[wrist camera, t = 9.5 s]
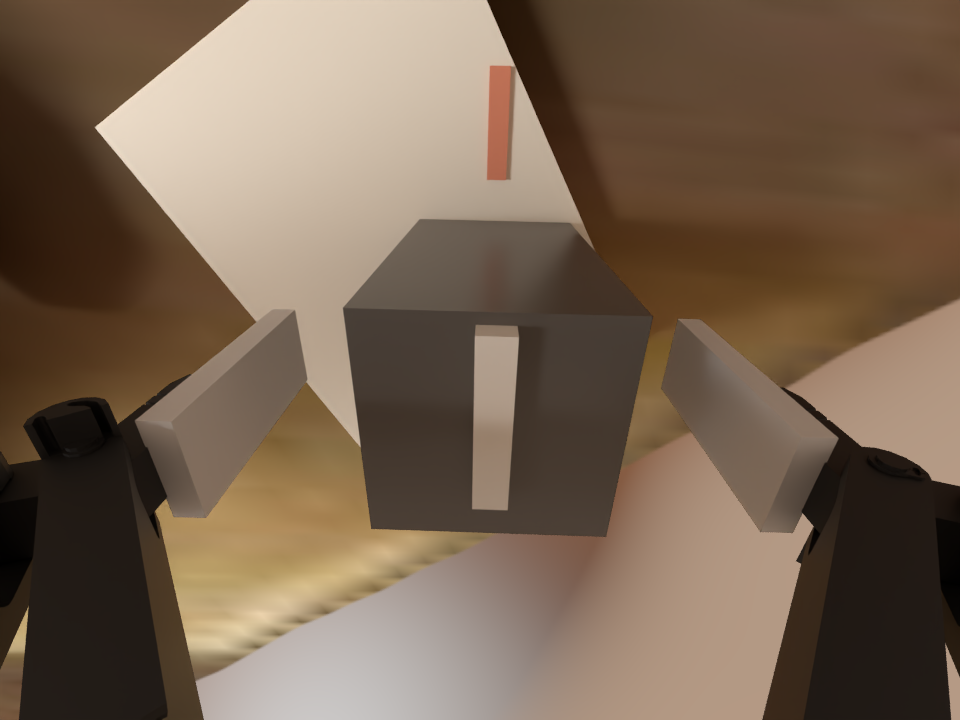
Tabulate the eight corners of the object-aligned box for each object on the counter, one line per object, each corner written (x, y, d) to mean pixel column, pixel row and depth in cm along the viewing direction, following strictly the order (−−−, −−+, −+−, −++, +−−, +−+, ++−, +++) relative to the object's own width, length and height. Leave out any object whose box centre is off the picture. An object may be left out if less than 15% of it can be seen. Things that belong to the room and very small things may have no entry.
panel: (382, 443, 28) (350, 533, 21) (130, 128, 20) (-36, 124, 14) (626, 332, 24) (674, 403, 18) (432, -113, 16) (393, -271, 10)
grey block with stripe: (555, 357, 22) (611, 555, 12) (425, 353, 22) (365, 546, 12) (569, 222, 19) (662, 327, 9) (419, 219, 19) (333, 318, 9)
